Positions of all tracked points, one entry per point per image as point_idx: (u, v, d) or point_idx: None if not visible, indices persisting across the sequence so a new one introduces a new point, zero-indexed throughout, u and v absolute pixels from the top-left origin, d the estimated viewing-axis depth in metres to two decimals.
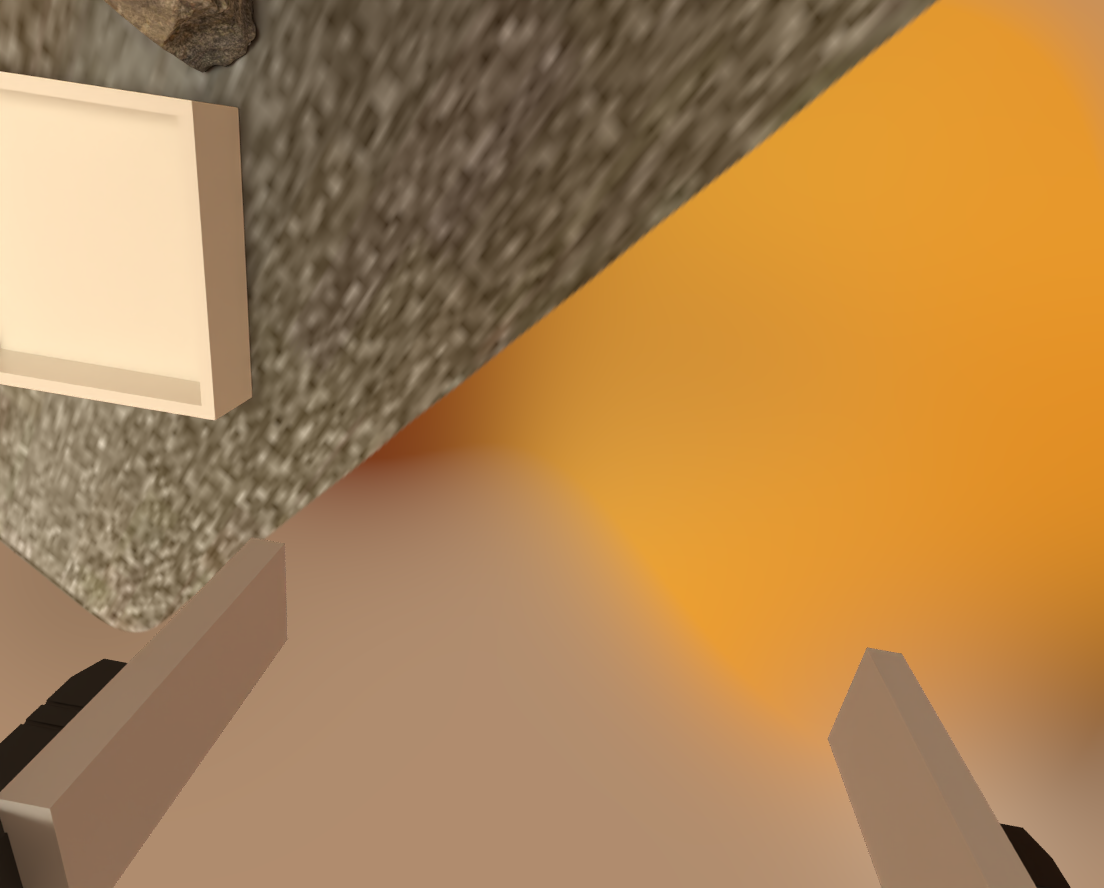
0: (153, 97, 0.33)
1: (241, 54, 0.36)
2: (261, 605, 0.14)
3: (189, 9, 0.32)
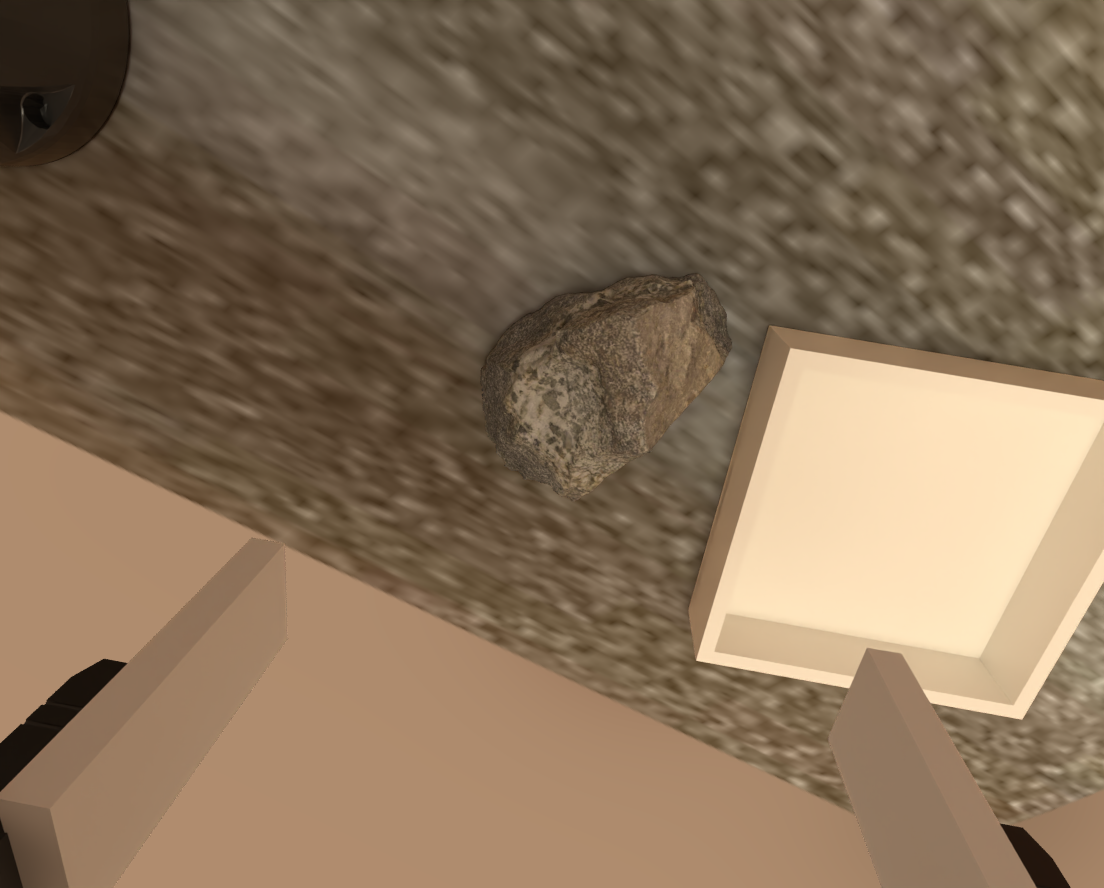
0: (779, 391, 0.29)
1: (715, 294, 0.32)
2: (261, 605, 0.14)
3: (697, 315, 0.28)
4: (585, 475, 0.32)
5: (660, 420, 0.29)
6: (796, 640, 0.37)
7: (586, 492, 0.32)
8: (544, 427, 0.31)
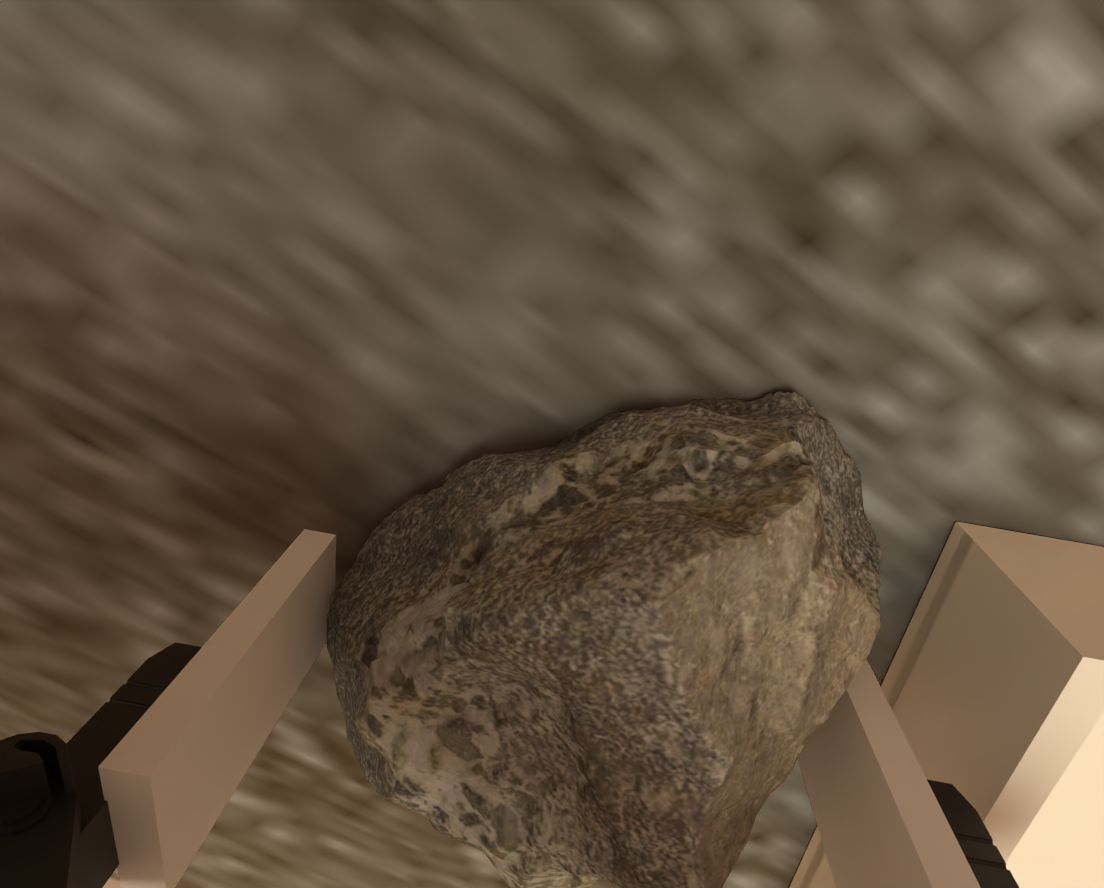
0: (1035, 747, 0.11)
1: (834, 433, 0.14)
2: (316, 593, 0.14)
3: (825, 543, 0.10)
4: None
5: (738, 814, 0.11)
6: None
7: None
8: (452, 787, 0.13)
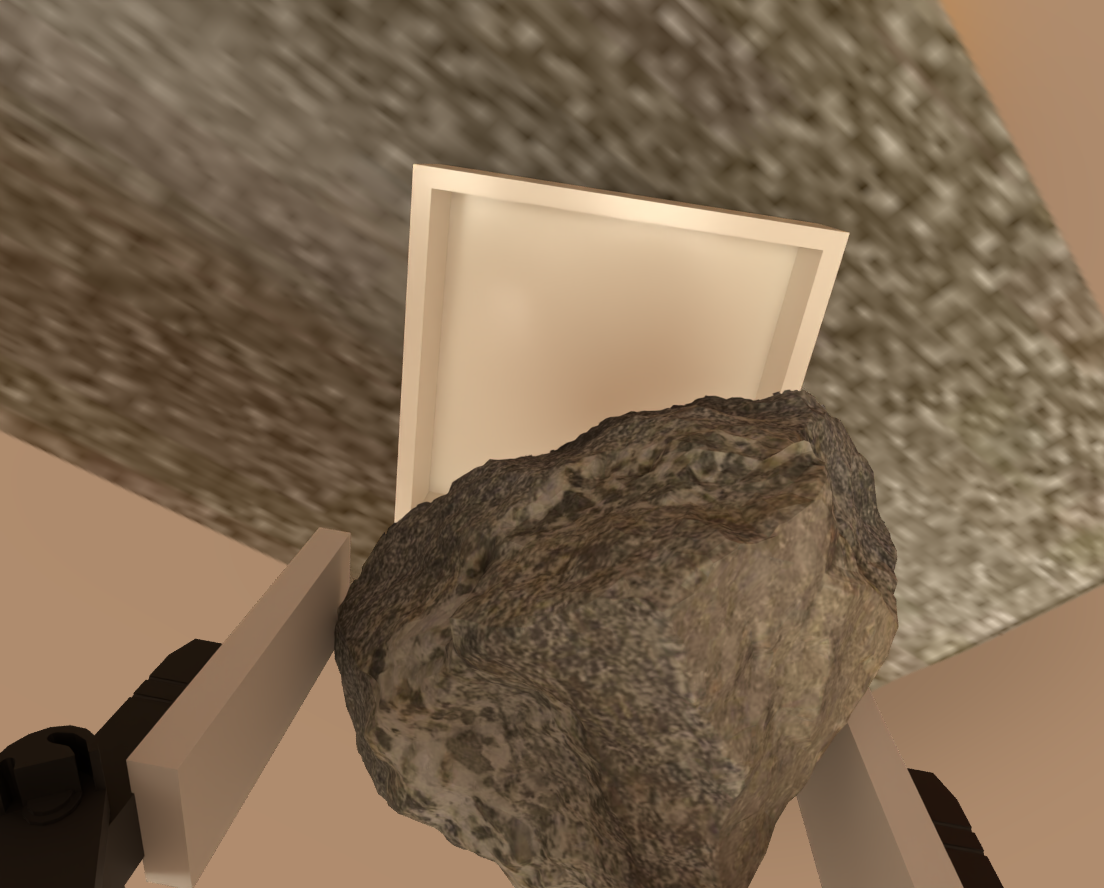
0: (413, 216, 0.27)
1: (845, 431, 0.14)
2: (331, 591, 0.15)
3: (839, 544, 0.10)
4: None
5: (756, 825, 0.11)
6: None
7: None
8: (463, 800, 0.13)
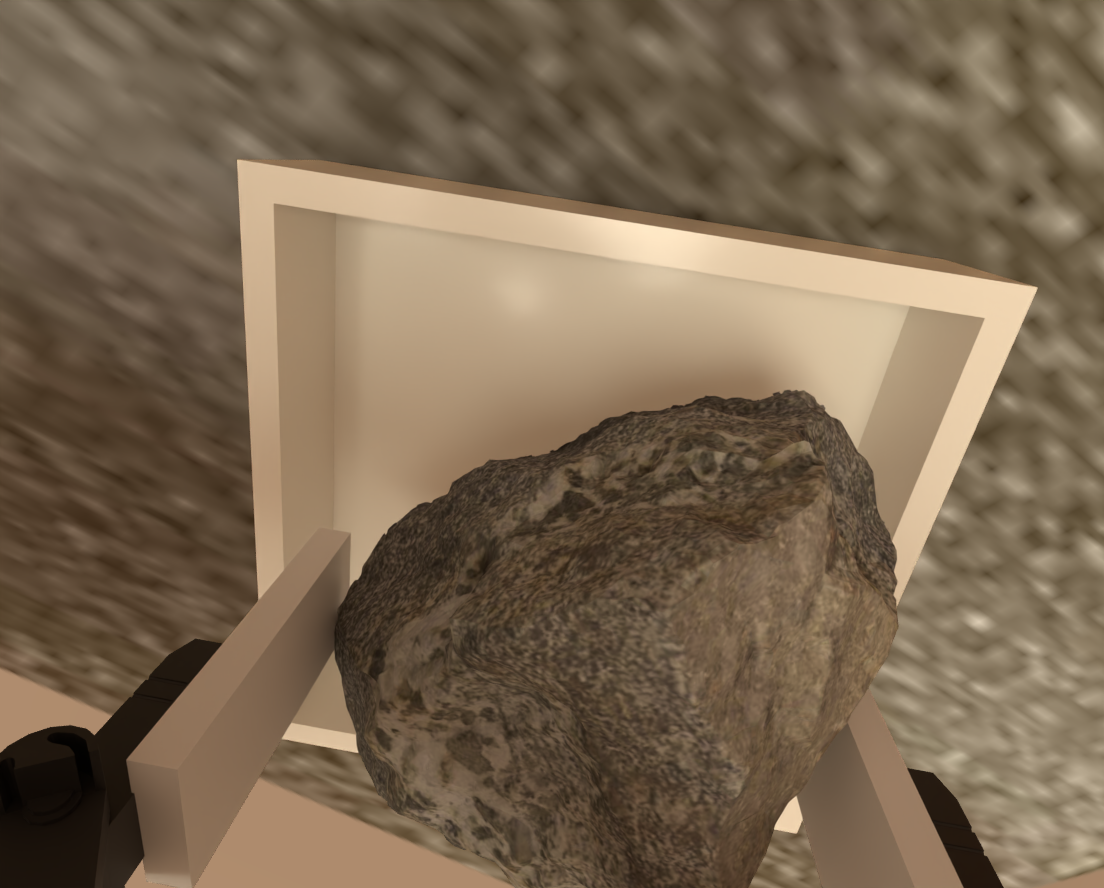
0: (245, 252, 0.15)
1: (845, 431, 0.14)
2: (331, 591, 0.15)
3: (838, 544, 0.10)
4: None
5: (757, 825, 0.11)
6: None
7: None
8: (464, 800, 0.13)
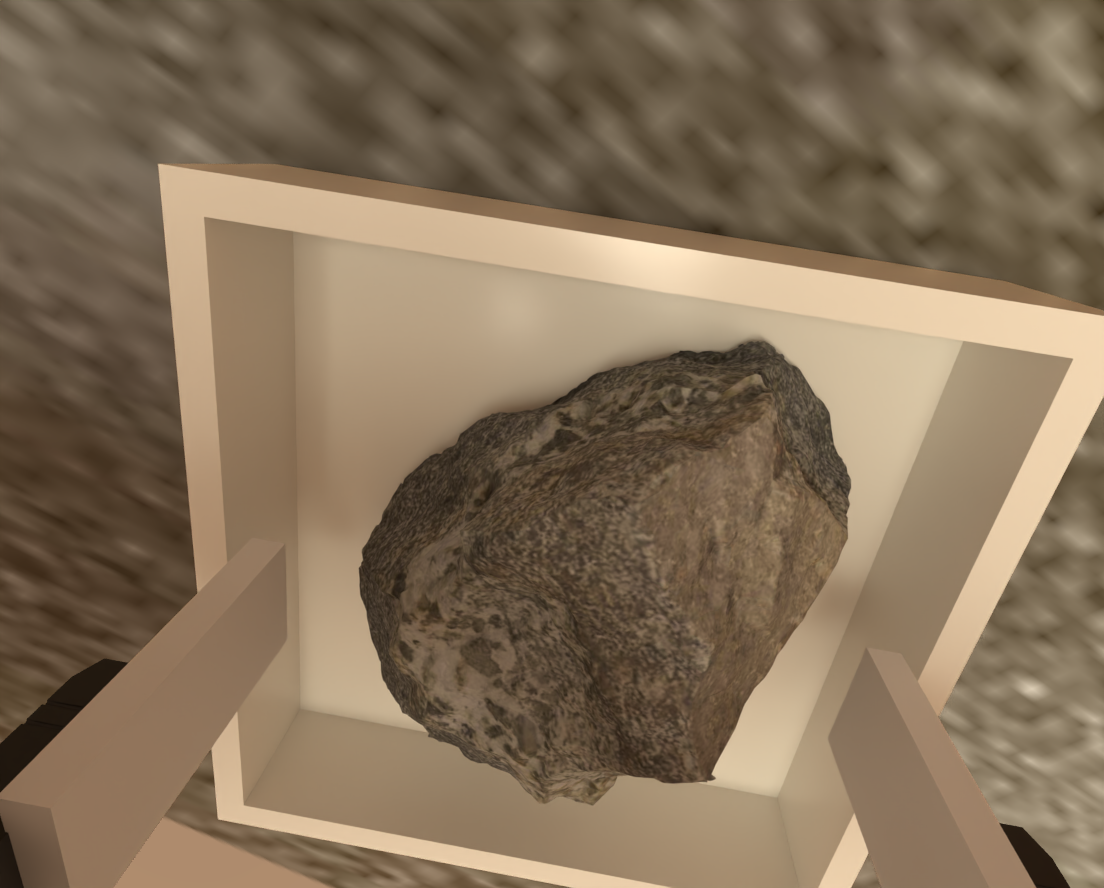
0: (173, 276, 0.13)
1: (803, 377, 0.15)
2: (261, 605, 0.14)
3: (786, 457, 0.12)
4: (576, 781, 0.15)
5: (726, 702, 0.12)
6: (437, 770, 0.20)
7: (585, 802, 0.16)
8: (477, 704, 0.15)
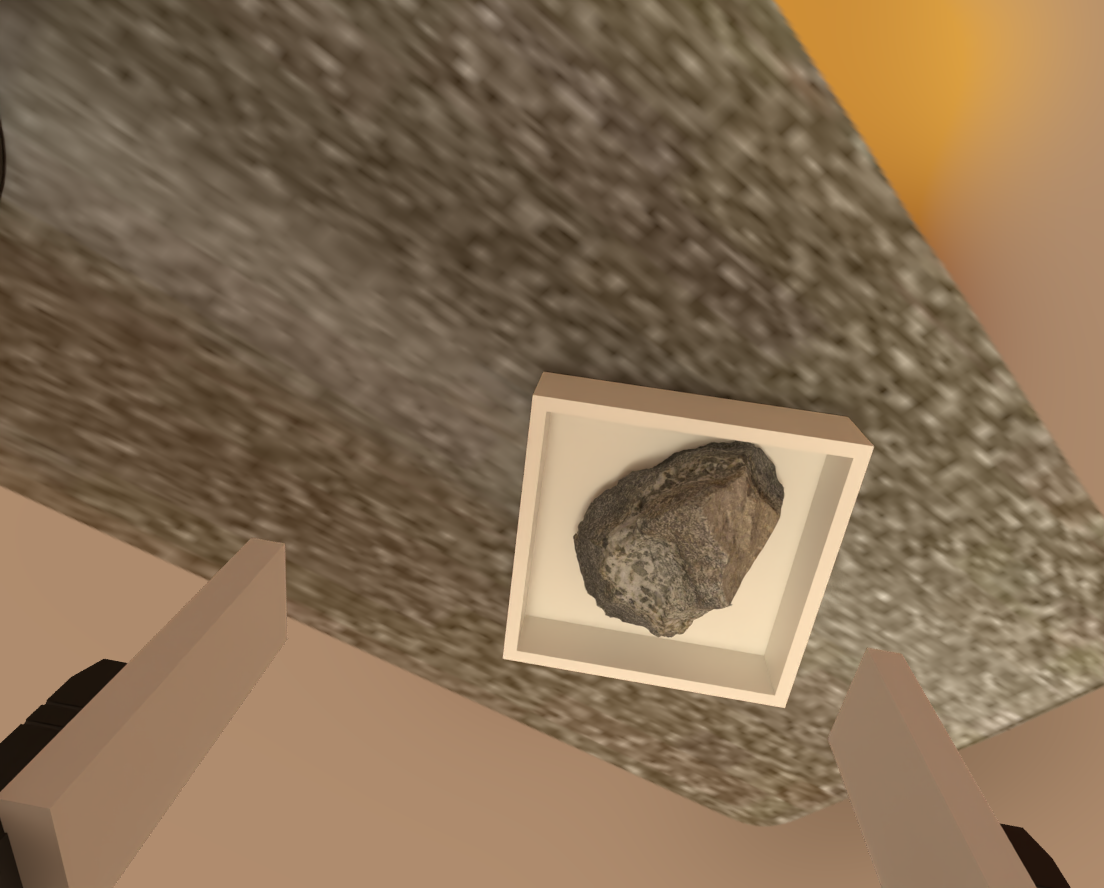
0: (530, 430, 0.35)
1: (763, 452, 0.37)
2: (261, 605, 0.14)
3: (751, 488, 0.34)
4: (676, 621, 0.37)
5: (734, 577, 0.34)
6: (598, 640, 0.43)
7: (679, 633, 0.38)
8: (636, 589, 0.37)
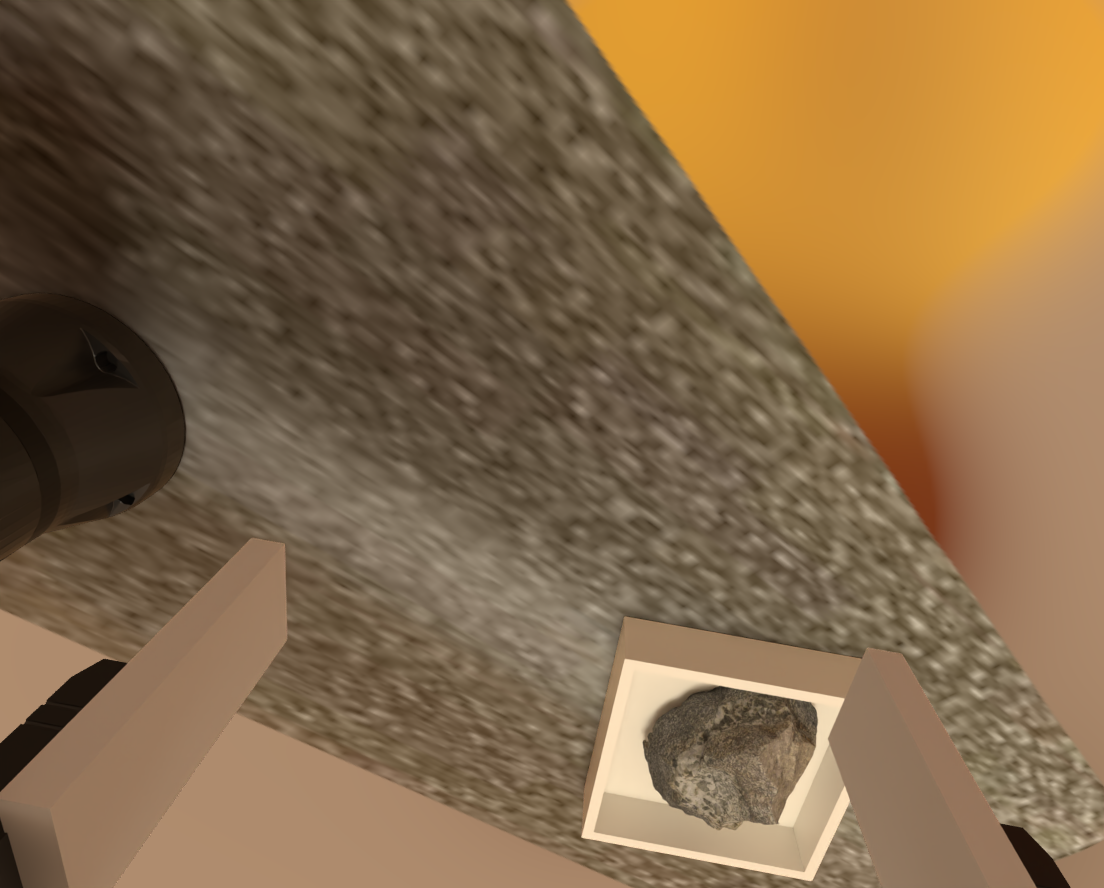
0: (620, 682, 0.44)
1: None
2: (261, 605, 0.14)
3: (795, 733, 0.43)
4: (730, 822, 0.46)
5: (781, 801, 0.43)
6: (657, 817, 0.51)
7: (732, 829, 0.47)
8: (699, 799, 0.45)
